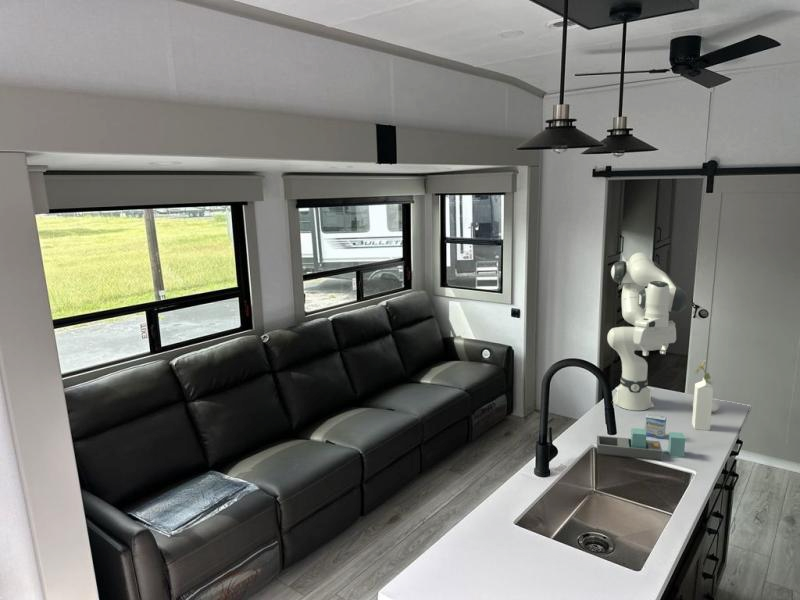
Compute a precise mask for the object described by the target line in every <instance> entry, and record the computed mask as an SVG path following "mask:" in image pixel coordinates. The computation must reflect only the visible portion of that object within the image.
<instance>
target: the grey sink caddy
mask: <svg viewBox="0 0 800 600" xmlns="http://www.w3.org/2000/svg"><path fill="white" fill-rule="evenodd" d="M630 434H631V435H630V437H629V438H627V437H617V436H606V435H596V454H597V455H602V456H603V455H604V456H612V457H613V456H614V457H623V458H632V459H640V460H641V459H642V460H652V461H660V460H661V461H662V460H663V449H662V446H661V441H660V440H659V441H658V440H652V439H651V440H649V439H648V440H647V436H646V431H645V428H635V427H634V428H633V427H632V428H631V433H630Z"/></svg>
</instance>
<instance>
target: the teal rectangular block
mask: <svg viewBox="0 0 800 600" xmlns="http://www.w3.org/2000/svg"><path fill="white" fill-rule="evenodd" d="M685 447H686V437H685V434H684V432H675V431H669V432H668V446H667V451H668V454H670V455H669V456H670V457H675V456H677V458H684V457H685Z"/></svg>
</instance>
